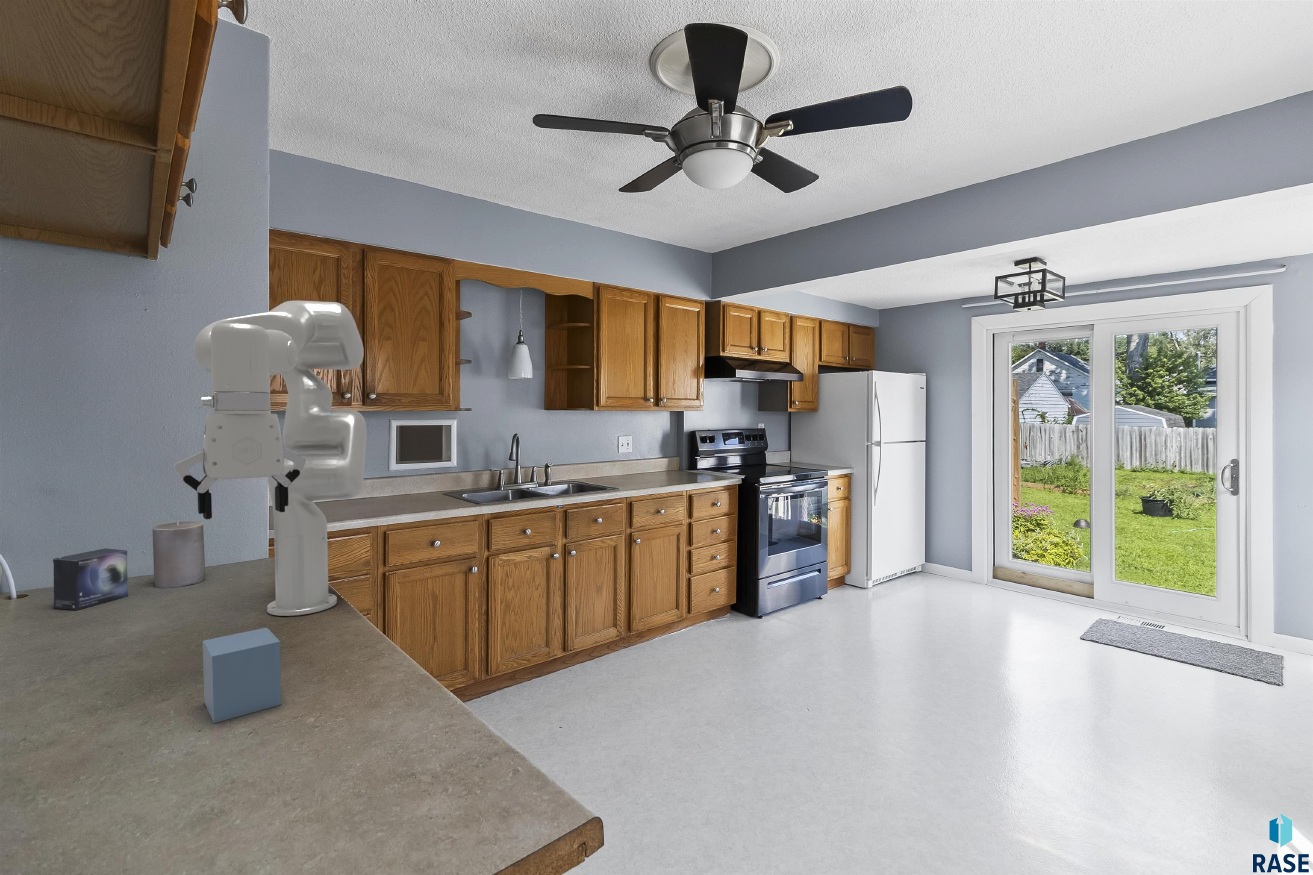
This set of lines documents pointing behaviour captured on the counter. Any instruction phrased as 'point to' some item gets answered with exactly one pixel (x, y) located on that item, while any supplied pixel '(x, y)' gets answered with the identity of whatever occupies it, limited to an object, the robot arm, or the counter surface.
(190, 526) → the pillar candle
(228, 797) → the counter surface
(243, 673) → the slate blue square block
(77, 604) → the small box
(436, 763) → the counter surface
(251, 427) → the robot arm
